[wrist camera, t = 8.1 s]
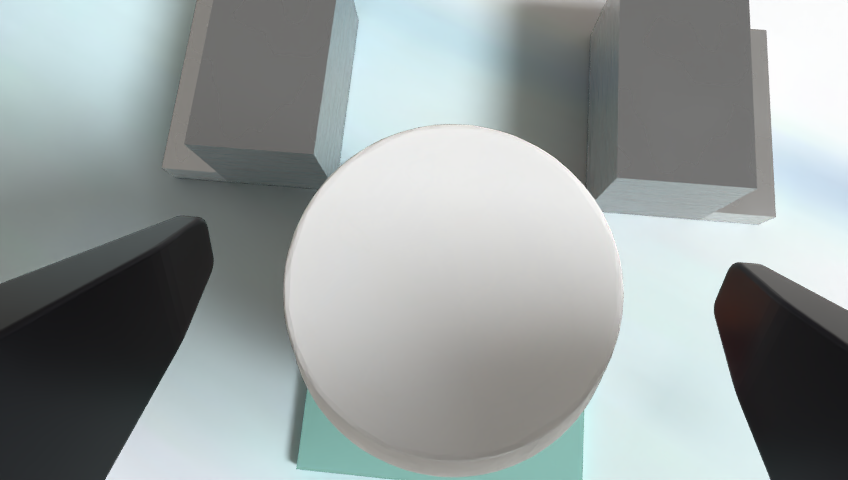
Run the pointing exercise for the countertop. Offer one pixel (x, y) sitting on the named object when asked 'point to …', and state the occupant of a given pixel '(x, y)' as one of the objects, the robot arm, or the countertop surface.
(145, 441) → the countertop surface
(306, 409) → the mat
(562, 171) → the pill bottle
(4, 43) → the countertop surface
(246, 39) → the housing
